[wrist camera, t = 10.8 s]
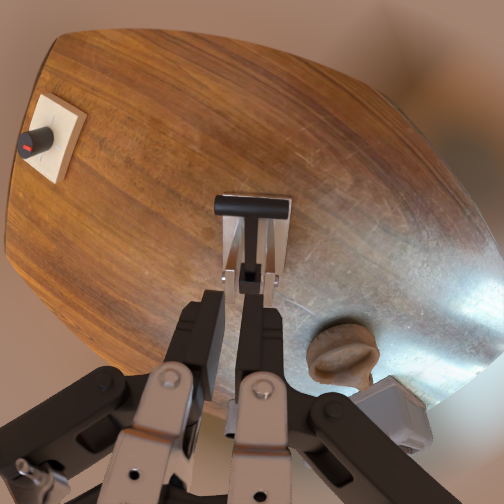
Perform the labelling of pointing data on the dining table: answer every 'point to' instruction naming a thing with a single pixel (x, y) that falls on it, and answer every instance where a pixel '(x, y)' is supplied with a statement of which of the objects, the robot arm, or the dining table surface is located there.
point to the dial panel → (56, 135)
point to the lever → (251, 230)
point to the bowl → (343, 356)
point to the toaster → (396, 415)
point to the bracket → (268, 249)
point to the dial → (35, 142)
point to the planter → (231, 419)
